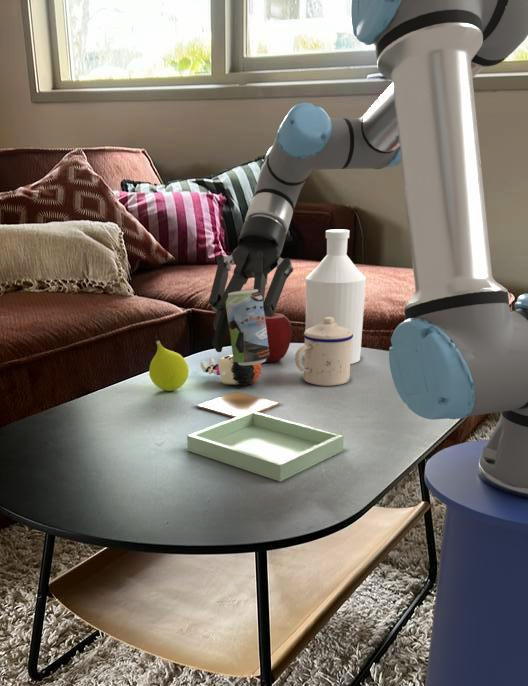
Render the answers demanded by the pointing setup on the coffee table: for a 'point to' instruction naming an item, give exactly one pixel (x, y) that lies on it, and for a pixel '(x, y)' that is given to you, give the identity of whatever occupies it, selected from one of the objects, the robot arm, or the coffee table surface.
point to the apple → (278, 336)
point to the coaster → (237, 404)
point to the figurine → (233, 371)
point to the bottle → (337, 291)
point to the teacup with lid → (326, 354)
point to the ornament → (168, 369)
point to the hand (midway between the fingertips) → (228, 348)
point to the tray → (265, 445)
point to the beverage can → (247, 326)
